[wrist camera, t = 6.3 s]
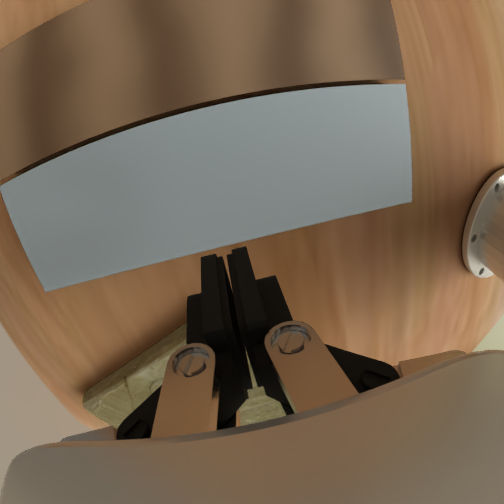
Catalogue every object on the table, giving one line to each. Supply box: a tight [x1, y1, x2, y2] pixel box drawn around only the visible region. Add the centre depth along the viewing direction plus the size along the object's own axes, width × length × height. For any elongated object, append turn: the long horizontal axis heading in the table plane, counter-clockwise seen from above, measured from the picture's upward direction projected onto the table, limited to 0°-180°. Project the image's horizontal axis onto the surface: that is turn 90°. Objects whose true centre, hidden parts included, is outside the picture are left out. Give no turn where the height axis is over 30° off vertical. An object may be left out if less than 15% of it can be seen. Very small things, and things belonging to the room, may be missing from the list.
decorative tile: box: [83, 323, 285, 428], centre depth 28 cm, size 19×20×4 cm
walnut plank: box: [0, 0, 405, 181], centre depth 13 cm, size 26×8×2 cm, turn 101°
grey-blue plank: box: [0, 84, 412, 292], centre depth 17 cm, size 26×8×2 cm, turn 101°
